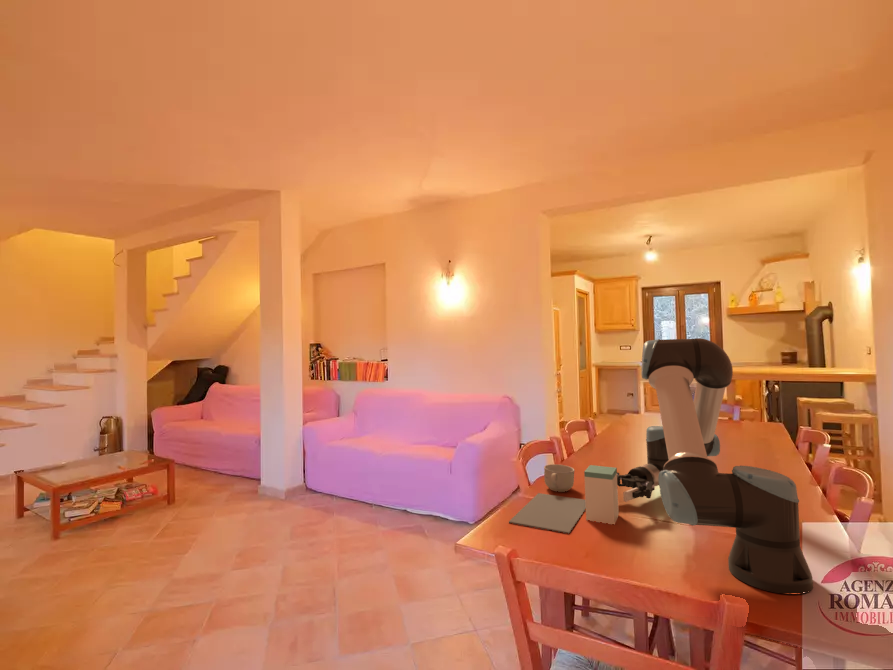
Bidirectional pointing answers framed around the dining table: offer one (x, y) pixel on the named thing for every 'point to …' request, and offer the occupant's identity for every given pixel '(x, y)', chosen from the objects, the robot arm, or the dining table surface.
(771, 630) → the dining table surface
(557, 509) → the rubber mat
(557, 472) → the teacup
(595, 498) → the green and white block
